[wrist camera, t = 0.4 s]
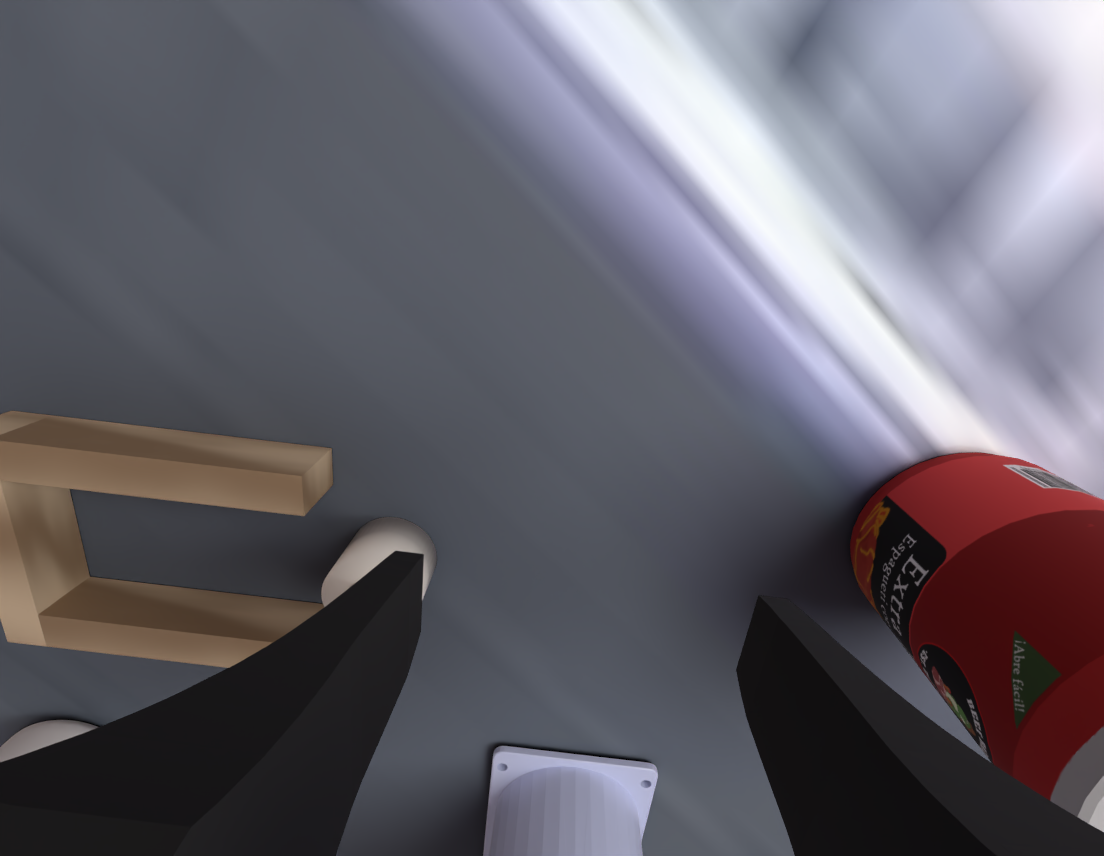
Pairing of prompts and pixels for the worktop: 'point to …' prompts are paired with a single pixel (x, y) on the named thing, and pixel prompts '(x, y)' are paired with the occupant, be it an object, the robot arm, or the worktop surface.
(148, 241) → the worktop surface
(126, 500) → the worktop surface
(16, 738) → the water bottle
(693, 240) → the worktop surface
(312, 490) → the cradle
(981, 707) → the canned food
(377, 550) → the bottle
